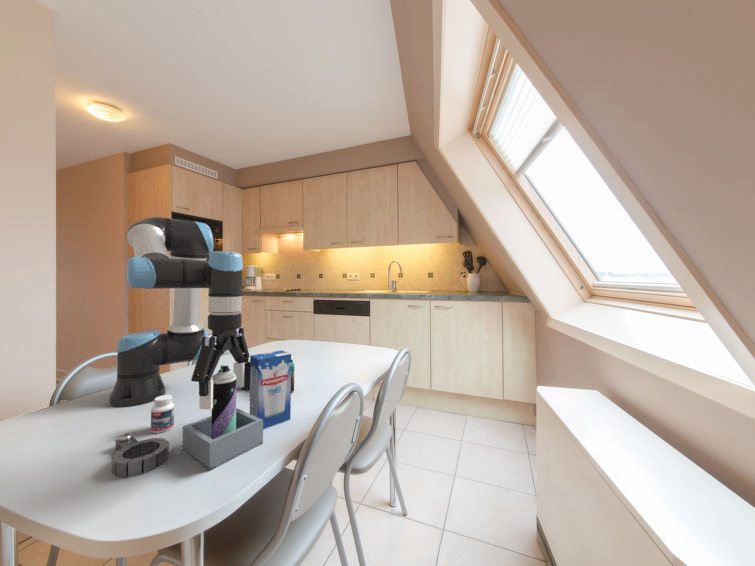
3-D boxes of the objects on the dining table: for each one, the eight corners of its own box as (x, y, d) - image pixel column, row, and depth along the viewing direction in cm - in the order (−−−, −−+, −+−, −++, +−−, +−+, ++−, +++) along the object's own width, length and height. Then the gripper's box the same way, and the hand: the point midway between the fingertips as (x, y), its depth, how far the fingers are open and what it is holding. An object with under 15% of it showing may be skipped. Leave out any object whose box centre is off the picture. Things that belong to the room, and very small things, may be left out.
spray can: (209, 452, 69) (209, 370, 68) (214, 439, 74) (214, 363, 73) (234, 448, 70) (234, 368, 70) (237, 436, 76) (238, 361, 75)
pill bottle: (148, 435, 77) (148, 402, 77) (153, 426, 82) (153, 395, 82) (172, 431, 80) (172, 399, 80) (175, 422, 84) (175, 392, 84)
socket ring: (96, 454, 68) (96, 442, 68) (146, 436, 76) (147, 425, 76) (120, 483, 59) (121, 469, 59) (175, 459, 67) (175, 446, 67)
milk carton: (281, 412, 91) (281, 350, 91) (290, 419, 87) (291, 353, 87) (249, 423, 84) (250, 355, 84) (257, 431, 80) (258, 359, 80)
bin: (182, 450, 70) (182, 426, 70) (234, 428, 81) (234, 407, 81) (209, 470, 63) (210, 443, 63) (262, 443, 74) (263, 420, 74)
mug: (247, 394, 106) (247, 370, 106) (238, 385, 115) (238, 363, 115) (272, 388, 112) (273, 365, 112) (262, 380, 121) (262, 359, 121)
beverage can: (275, 397, 104) (275, 364, 104) (274, 390, 110) (274, 359, 110) (295, 394, 106) (295, 362, 106) (292, 388, 113) (293, 357, 113)
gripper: (238, 307, 85) (236, 379, 85) (172, 319, 60) (171, 419, 60) (262, 308, 84) (261, 380, 85) (206, 320, 59) (205, 421, 60)
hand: (223, 396), depth 72 cm, fingers open, 13 cm apart
